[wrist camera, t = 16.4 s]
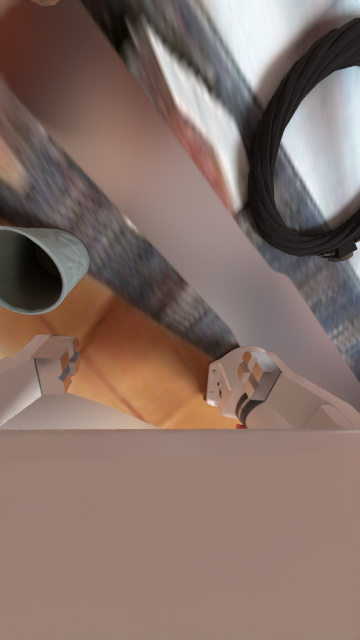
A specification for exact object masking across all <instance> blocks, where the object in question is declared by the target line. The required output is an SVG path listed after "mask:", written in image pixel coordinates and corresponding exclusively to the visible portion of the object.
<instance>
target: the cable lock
mask: <svg viewBox="0 0 360 640" xmlns="http://www.w3.org/2000/svg"><path fill="white" fill-rule="evenodd" d="M352 66H360V18H354V19H353V20H351V21H350V22H348V23H346V24H345V25H343V26H341V27H340V28H337V29H333V30H332V31H330V32H329V33H327V34H326V35H325V36H323V37H322V38H320V39H319V40H317V41H316V42H315V43H314V44H313V45H312V46H311V48H310V49H309V50H308V51H307V52H306V53H305V54H304V55H303V56H302V57H301V58H300V59H299V60H298V61H297V62H296V63H295V64H294V65H293V67H292V68H291V69H290V71H289V72H288V73H287V74H286V76H285V77H284V78H283V80H282V81H281V83H280V85H279V87H278V89H277V91H276V92H275V94H274V95H273V97H272V99H271V100H270V102H269V104H268V106H267V108H266V110H265V113H264V115H263V117H262V120H261V122H260V124H259V128H258V131H257V134H256V138H255V141H254V145H253V148H252V152H251V161H250V169H249V174H248V197H249V201H250V206H251V210H252V214H253V217H254V219H255V222H256V225H257V227H258V229H259V230H260V231H261V233H262V234H263V236H264V237H265V238H266V239H267V240H268V241H269V242H270V243H271V244H272V245H273V246H274V247H275V248H276V249H279V250H281V251H283V252H285V253H287V254H290V255H294V256H299V257H301V256H315V255H318V256H328V257H329V259H328V260H329V261H331V262H340V261H344V260H347V259H349V258H351V257H352V256H353V251H355V250H357V247H356V244H355V243H356V242H359V241H360V209H359V210H358V211H357V212H356V213H355V214H354V215H353V216H352V217H351V218H350V219H349V220H348V221H346V222H345V223H344V224H343V225H342V226H340V227H339V228H337V229H335V230H333V231H331V232H328V233H326V234H321V235H316V236H311V237H308V236H302V235H300V234H298V233H297V232H295V231H293V230H291V229H290V228H288V227H287V226H286V225H285V224H284V222H283V220H282V218H281V216H280V214H279V212H278V210H277V207H276V204H275V201H274V183H273V174H274V166H275V162H276V158H277V153H278V149H279V145H280V141H281V138H282V135H283V132H284V130H285V128H286V126H287V124H288V123H289V121H290V119H291V118H292V116H293V114H294V113H295V111H296V109H297V108H298V106H299V104H300V103H301V101H302V100H303V99H304V98H305V97H306V95H307V94H308V93H309V92H310V91H311V90H312V89H313V88H314V87H315V86H316V85H317V84H318V83H319V82H320V81H321V80H323V79H324V78H326V77H327V76H328V75H330V74H331V73H333V72H334V71H337V70H340V69H344V68H348V67H352Z"/></svg>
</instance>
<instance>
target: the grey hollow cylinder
mask: <svg viewBox="0 0 360 640" xmlns="http://www.w3.org/2000/svg"><path fill="white" fill-rule="evenodd" d="M88 268H89V256H88V252H87V250H86V248H85V247H84V245H83V244H82V243H81V241H80V240H79V239H78V238H76V237H75V236H74V235H72V234H70V233H69V232H66V231H64V230H60V229H44V228H37V229H36V228H21V227H10V226H0V306H2V307H3V308H6V309H8V310H11V311H13V312H17V313H21V314H29V315H37V314H43V313H47V312H49V311H52V310H53V309H55V308H56V307H57V306H58V305H59V304H60V303H61V302H62V301H63V300H64V298H65V297H66V296H67V295H68V293H69V292H70V291H71V290H72V289H73V287H75V285H76V284H77V283H78V282H79V280H80V279H82V277H83V276H84V275H85V274H86V273H87V271H88Z"/></svg>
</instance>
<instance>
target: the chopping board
mask: <svg viewBox="0 0 360 640" xmlns="http://www.w3.org/2000/svg"><path fill="white" fill-rule="evenodd" d="M31 1H33V2H35V3H37V4H39V5H41V6H51V5H55V4H56V3H57V2H58V1H59V0H31Z"/></svg>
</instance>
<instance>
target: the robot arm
mask: <svg viewBox="0 0 360 640" xmlns="http://www.w3.org/2000/svg"><path fill="white" fill-rule="evenodd" d="M78 347H79V339H78V338H77V337H67V336H57V335H47V334H38V335H36V336H35V337H34V338H33V339H32V340H31V341H30V342H29V343H28V344H27V345H26V346H24V347H23V348H22V349H21V350H20V351H19V352H18V353H17V354H16V355H15V356H14V357H7V358H5V359H2V360H0V426H1V425H2V424H3V423H5V422H6V421H8V420H9V419H10V418H12V417H13V416H14V415H16V414H17V413H19V412H20V411H21V410H23V409H24V408H25V407H27V406H28V405H29V404H31V403H32V402H33V401H35V400H36V399H37V398H39V397H40V396H42V395H41V394H65V393H66V392H67V390H68V388H69V386H70V384H71V382H72V381H71V377H72V376H74V375H75V374H76V373H77V371H78V368H79V364H80V353H79V352H78V351H77V349H78ZM206 401H207V403H208V404H210V405H212V406H216V407H217V408H218V410H219V412H220V413H221V414H222V415H223V416H226V417H229V418H235V419H239V420H240V422H241V423H242V424H243V425H240V424H237V425H236V429H82V430H81V429H74V430H73V429H70V430H69V429H64V430H63V429H62V430H61V429H59V430H58V429H50V430H49V429H48V430H46V429H45V430H0V640H360V414H359V413H358V412H357V411H356V410H355V409H354V408H353V407H352V406H351V405H349V404H348V403H346V402H344V401H342V400H340V399H339V398H337V397H335V396H333V395H332V394H330V393H328V392H326V391H325V390H323V389H321V388H320V387H318V386H316V385H314V384H313V383H311V382H309V381H307V380H306V379H304V378H302V377H300V376H299V375H297V374H293V373H292V372H291V371H290V370H289V369H288V367H287V366H286V365H285V364H284V363H283V362H282V361H281V360H280V359H279V358H278V356H277V355H276V354H274V353H269V352H265V351H264V350H263V349H261V348H259V347H256V346H244V347H240V348H237V349H234V350H232V351H231V352H229V353H228V354H226V355H225V356H224V357H222V358H221V359H219V360H216V361H214V362H212V363H211V364H210V365H209V373H208V383H207V394H206Z"/></svg>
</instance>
